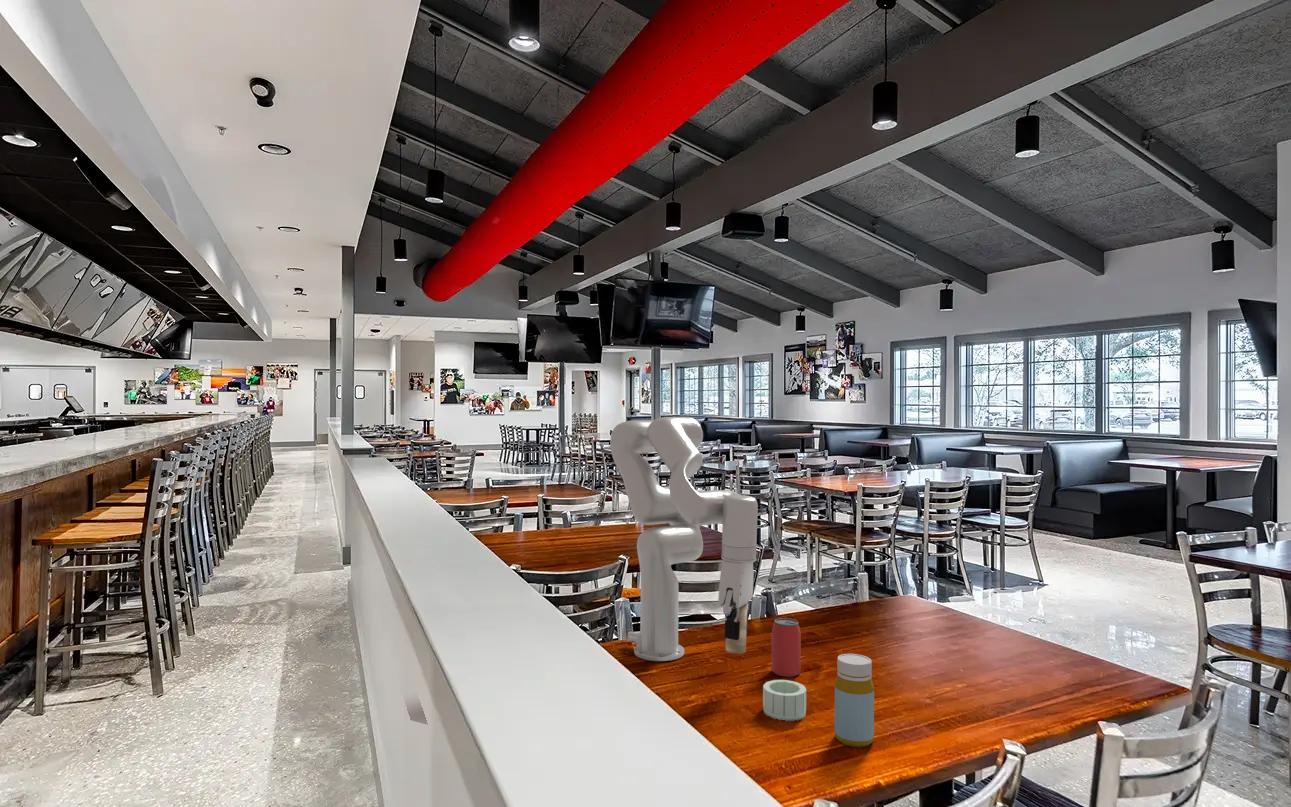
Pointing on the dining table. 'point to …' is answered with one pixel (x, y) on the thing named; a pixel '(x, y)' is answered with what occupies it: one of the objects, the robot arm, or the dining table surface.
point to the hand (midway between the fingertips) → (736, 634)
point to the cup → (784, 700)
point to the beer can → (786, 647)
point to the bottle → (854, 700)
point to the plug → (740, 644)
